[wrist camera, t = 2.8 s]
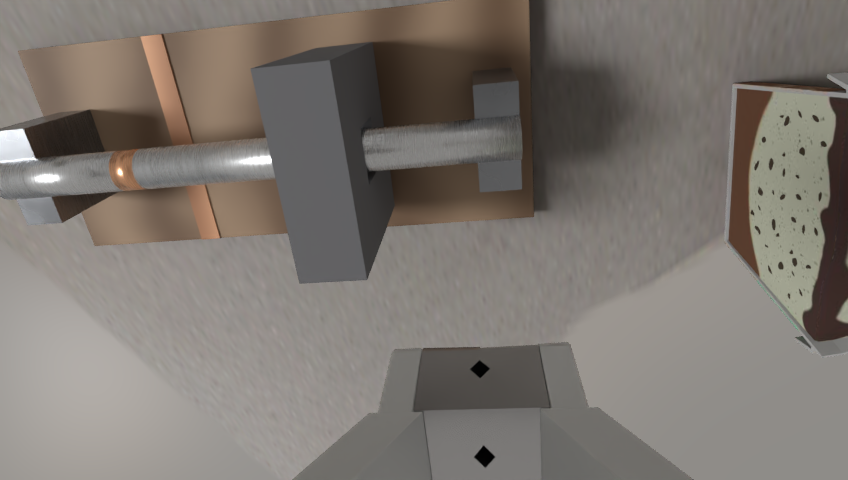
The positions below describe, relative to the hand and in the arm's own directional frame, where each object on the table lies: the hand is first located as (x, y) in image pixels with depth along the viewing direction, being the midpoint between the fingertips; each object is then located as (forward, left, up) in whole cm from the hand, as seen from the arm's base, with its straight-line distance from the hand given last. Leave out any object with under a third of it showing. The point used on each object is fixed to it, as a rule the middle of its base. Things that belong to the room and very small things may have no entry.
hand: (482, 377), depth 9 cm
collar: (+7, 0, -21) cm, 22 cm away
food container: (-17, +4, -23) cm, 29 cm away
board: (+11, 0, -23) cm, 25 cm away
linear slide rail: (+11, 0, -23) cm, 25 cm away
